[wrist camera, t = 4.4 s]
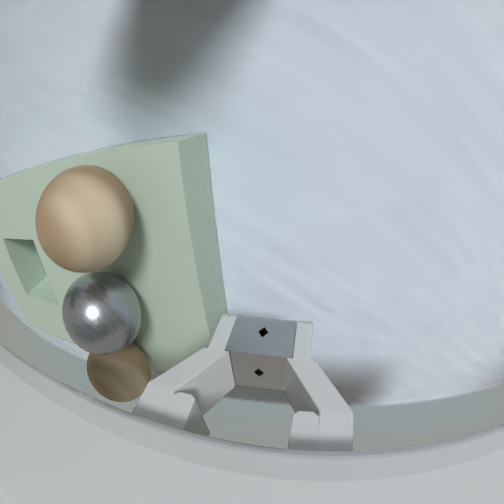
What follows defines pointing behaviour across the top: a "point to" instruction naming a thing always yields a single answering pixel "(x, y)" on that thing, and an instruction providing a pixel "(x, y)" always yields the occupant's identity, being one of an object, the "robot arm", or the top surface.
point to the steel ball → (101, 313)
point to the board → (130, 245)
